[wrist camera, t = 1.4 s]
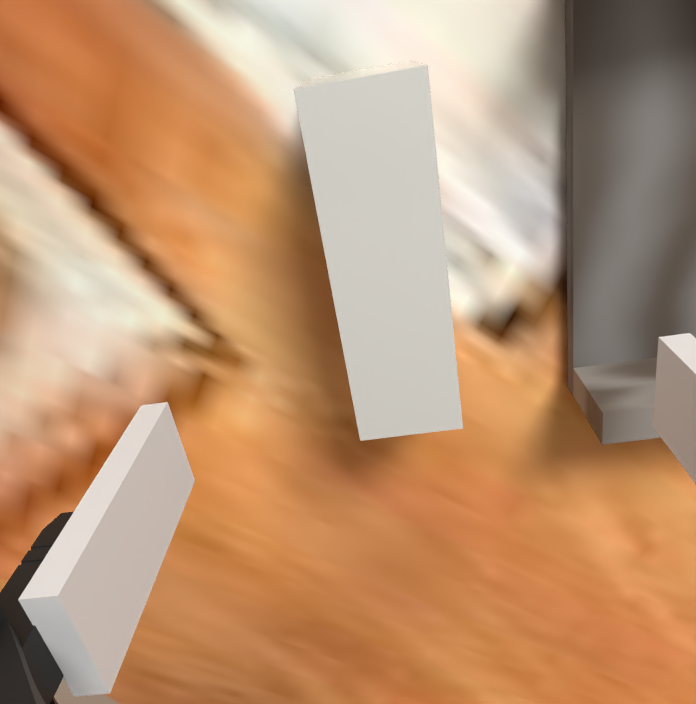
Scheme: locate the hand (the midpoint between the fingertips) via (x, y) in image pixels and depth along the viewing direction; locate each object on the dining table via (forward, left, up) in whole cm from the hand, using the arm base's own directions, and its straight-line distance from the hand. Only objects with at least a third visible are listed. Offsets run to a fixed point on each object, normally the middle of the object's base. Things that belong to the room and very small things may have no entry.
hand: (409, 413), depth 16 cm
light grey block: (0, 0, -20) cm, 20 cm away
